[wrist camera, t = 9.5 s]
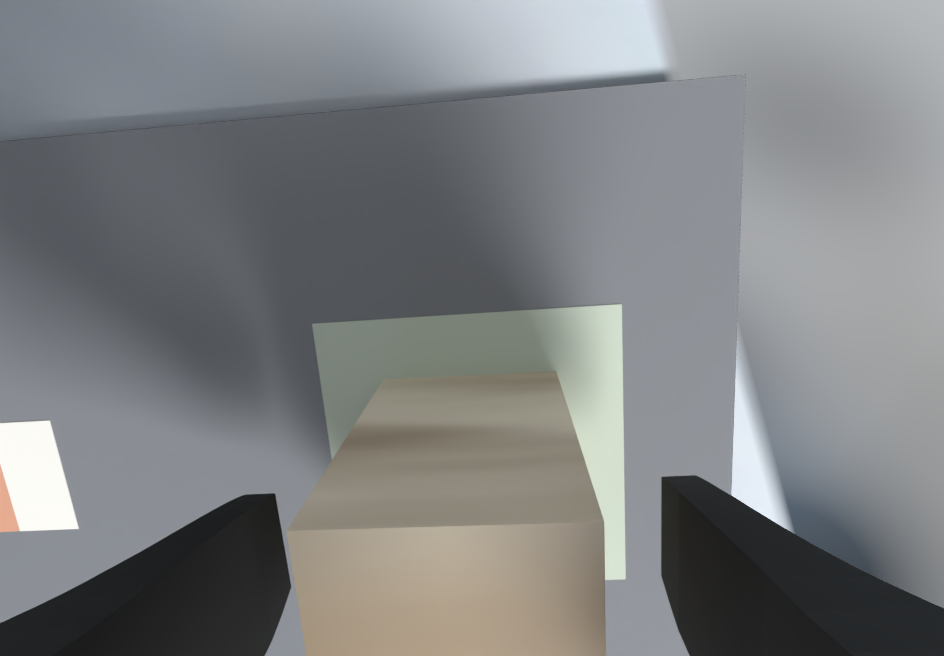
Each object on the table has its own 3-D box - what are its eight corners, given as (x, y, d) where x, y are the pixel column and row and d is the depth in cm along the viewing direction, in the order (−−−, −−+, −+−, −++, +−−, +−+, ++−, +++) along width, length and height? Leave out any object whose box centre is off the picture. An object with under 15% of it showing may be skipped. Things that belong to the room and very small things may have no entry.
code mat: (718, 712, 15) (723, 724, 15) (-103, 724, 17) (-114, 734, 16) (739, 77, 11) (745, 73, 11) (-317, 172, 13) (-337, 171, 13)
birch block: (561, 526, 13) (607, 778, 8) (399, 531, 14) (326, 777, 8) (556, 371, 13) (605, 522, 7) (383, 379, 13) (285, 530, 7)
